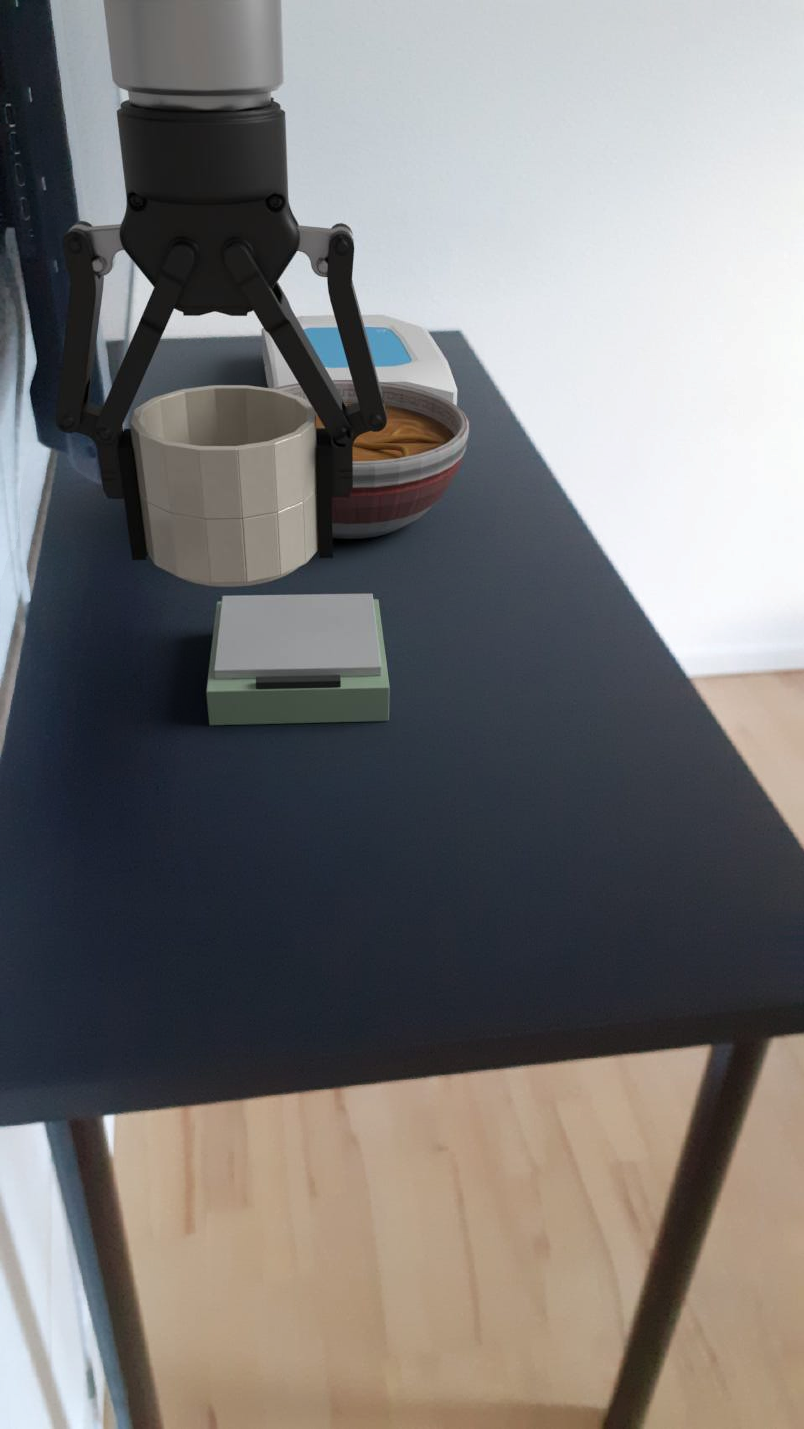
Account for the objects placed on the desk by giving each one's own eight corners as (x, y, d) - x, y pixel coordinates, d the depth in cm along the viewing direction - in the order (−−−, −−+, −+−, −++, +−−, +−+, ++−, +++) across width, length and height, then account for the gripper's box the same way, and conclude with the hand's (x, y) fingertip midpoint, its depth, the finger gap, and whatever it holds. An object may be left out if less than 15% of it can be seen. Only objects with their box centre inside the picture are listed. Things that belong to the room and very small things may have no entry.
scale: (209, 725, 78) (205, 682, 76) (219, 633, 89) (216, 592, 86) (388, 721, 79) (390, 677, 77) (377, 630, 90) (378, 589, 87)
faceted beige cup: (138, 594, 57) (118, 450, 53) (159, 516, 65) (143, 384, 60) (319, 592, 58) (316, 449, 53) (319, 515, 66) (316, 384, 61)
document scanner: (277, 437, 124) (275, 383, 121) (262, 362, 147) (260, 315, 143) (456, 431, 128) (459, 378, 124) (414, 358, 150) (416, 312, 147)
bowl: (265, 462, 118) (261, 371, 113) (473, 480, 116) (480, 388, 110) (203, 555, 100) (194, 451, 94) (449, 579, 97) (455, 474, 92)
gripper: (440, 91, 52) (424, 518, 65) (-32, 83, 51) (48, 521, 64) (456, 110, 46) (436, 577, 59) (-80, 102, 45) (19, 582, 58)
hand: (234, 548), depth 61 cm, fingers closed on faceted beige cup, 10 cm apart
